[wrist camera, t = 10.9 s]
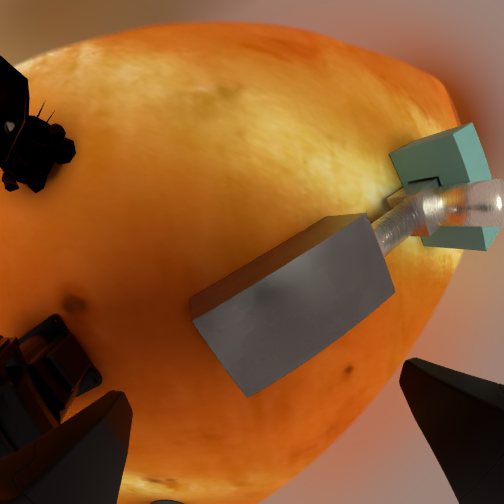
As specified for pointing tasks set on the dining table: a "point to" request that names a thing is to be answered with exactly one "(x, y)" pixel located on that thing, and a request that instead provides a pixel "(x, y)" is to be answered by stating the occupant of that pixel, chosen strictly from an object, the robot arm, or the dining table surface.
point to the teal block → (448, 178)
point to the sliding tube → (439, 209)
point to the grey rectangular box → (293, 300)
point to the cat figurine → (26, 136)
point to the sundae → (166, 502)
